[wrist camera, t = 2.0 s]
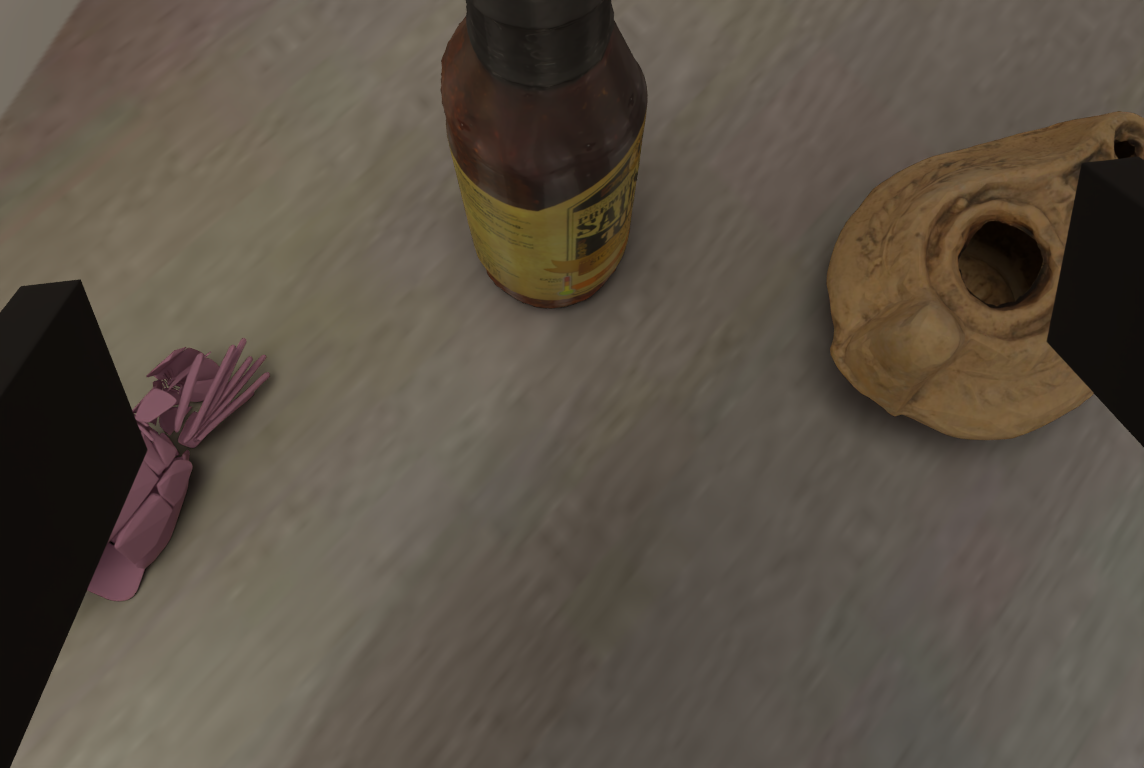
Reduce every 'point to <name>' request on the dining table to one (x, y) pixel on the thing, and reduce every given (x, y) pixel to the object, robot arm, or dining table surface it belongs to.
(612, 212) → the sauce bottle
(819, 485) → the dining table surface
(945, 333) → the oil lamp
